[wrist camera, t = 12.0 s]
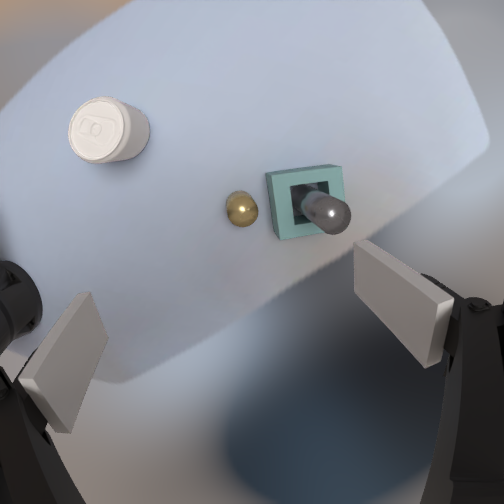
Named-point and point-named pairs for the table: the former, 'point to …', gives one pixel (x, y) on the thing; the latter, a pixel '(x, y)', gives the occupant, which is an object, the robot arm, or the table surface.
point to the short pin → (241, 209)
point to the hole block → (282, 203)
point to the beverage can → (108, 131)
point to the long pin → (321, 208)
